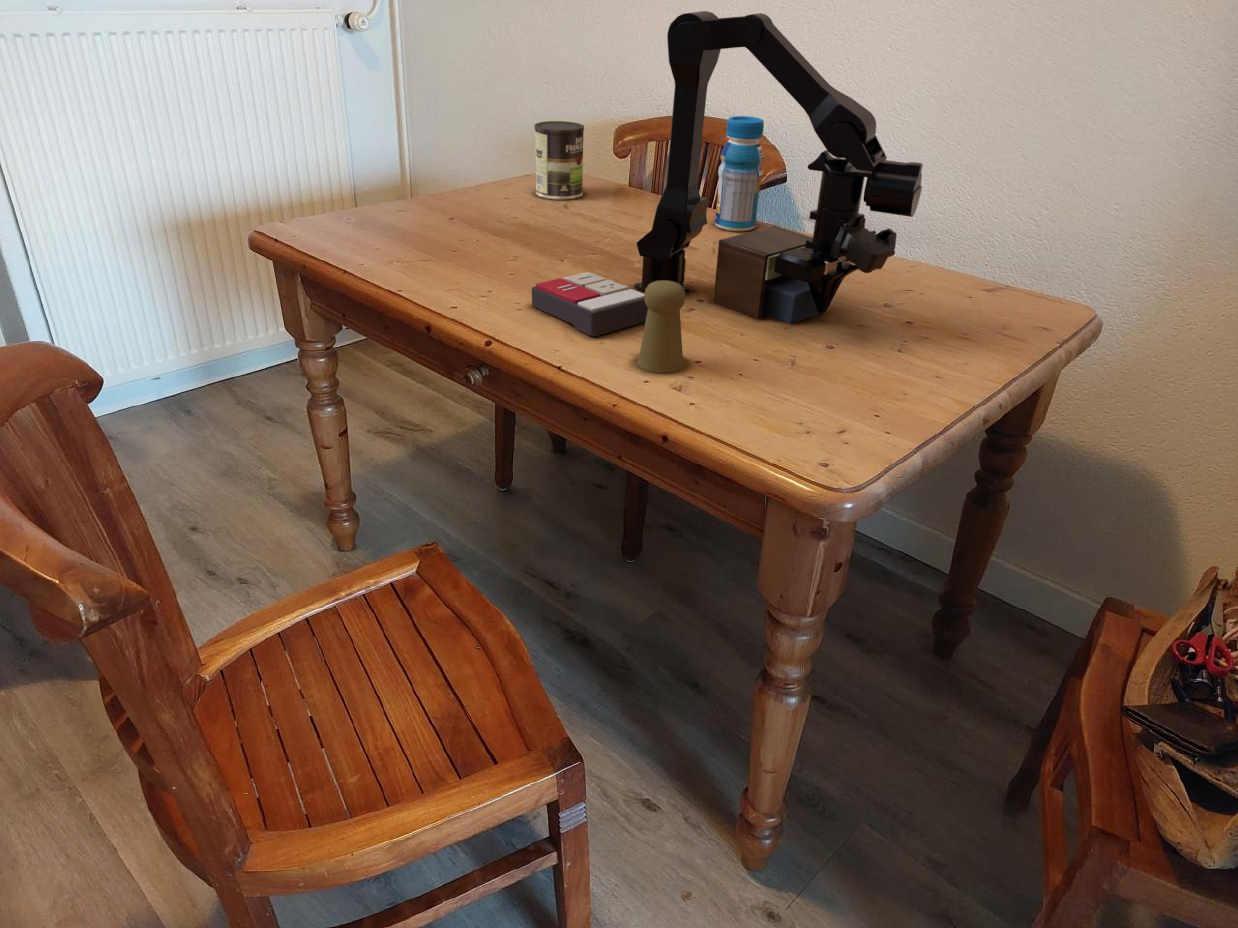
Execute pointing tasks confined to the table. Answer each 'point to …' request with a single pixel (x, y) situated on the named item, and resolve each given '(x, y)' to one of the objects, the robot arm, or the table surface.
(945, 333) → the table surface
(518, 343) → the table surface
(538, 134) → the coffee can
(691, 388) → the table surface
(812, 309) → the storage box
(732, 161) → the beverage bottle
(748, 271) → the drawer unit
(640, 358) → the olive pawn
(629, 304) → the calculator
